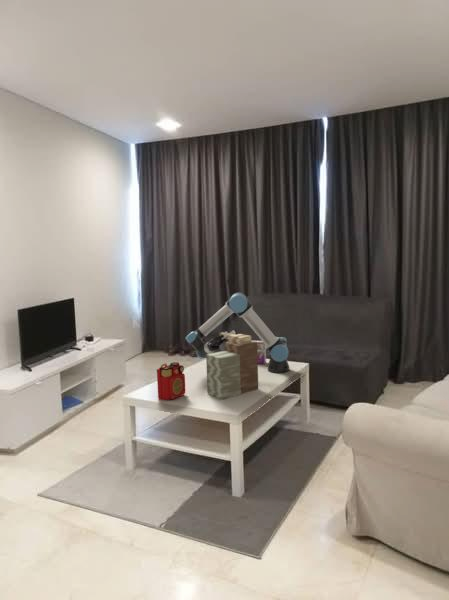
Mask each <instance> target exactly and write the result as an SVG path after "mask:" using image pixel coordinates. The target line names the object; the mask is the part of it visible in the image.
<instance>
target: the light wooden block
mask: <svg viewBox="0 0 449 600" xmlns="http://www.w3.org/2000/svg"><path fill="white" fill-rule="evenodd" d="M224 332H225V331H224ZM224 332H222V331H221V332H219V336H220V335H222V334H223V333H224ZM229 333H230V332H227V334H228V336H227V337H225V338H224V339H228V340H230V342H232V343H236V344H241V345H242V344H246V343H251V341H252V335H249V334H243V333H238V334H235V335H234V334H229Z"/></svg>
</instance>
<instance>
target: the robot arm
mask: <svg viewBox="0 0 449 600" xmlns="http://www.w3.org/2000/svg"><path fill="white" fill-rule="evenodd" d="M234 313H235V314H236V315H237V316H238V317H239V318H242V319H243V320H244V321H245V322H246V324H247V325H248V327H250V328H251V330H252V331H253V332H254V333H255V334H256V336H258V338H259V340H260V341H263V343H264V344H265V349H266V352H268V354H269V362H268V365H267V371H268V372H270V373H273V374H274V373H275V374H280V373H287V371H288V372H289V371H290V365H289V362H288V359H287V358H288V356H289V349H288V346H287V338H286V337H284V336H281V337H279V336H275V335H274V333H273V332H272V330H270V328H269V327H268V326H267V325H266V323H265V322H264V321H263V320H262V319H261V318H260V316H259V315H258V314H257V312H255V310H254V309H253V305H252V303H251V302H250V300H248V297H247V295H245V293H243V292H239V291H238V292H235V293H233V294H232V295H231V296H230V298H229V299H228V300H227V301H226V302H225V304H224V306H222V307H221V308H220V309H218V310H217V312H215V313H214V314H213V315H212V316H211V317H210V318H208V319H207V320H206V322H204V323H203V324H202V325H200V327H199V328H197V329H196V330H194V331H191V332H190V333H189V334H187V336H185V340H186V341H187V343H188V344H189V345H190V346H191V347H192V348H193V349H194V350H195V351H196V352H195V354H196V357H197V358H198V359H200V360H203V359H204V360H205V358H206V354H210V353H215V352H217V351H218V350H220V347H219V346H220V345H221V344H222V343H225V342H227V341H229V340H228V339H224V338H225V337H227V336H228V334H227V333H229V334H234V335H237V334H236V331H235V330H234V329H233V330H231V331H230V332H228V331H224V333H223V334H222V335H220V334H219V336H215V337H214V338H212V339H210V340H209V341H208V342H206V343H205V342H204V341H203V339H205V337H207V336H208V335H209V334H210V333H212V331H214V330H215V329H216V328H217V327H218V326H220V325H221V324H222V323H223V322H225V320H226V319H228V317H229V316H231V315H232V314H234Z"/></svg>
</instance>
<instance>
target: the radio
mask: <svg viewBox="0 0 449 600" xmlns="http://www.w3.org/2000/svg"><path fill="white" fill-rule="evenodd" d="M184 371H185V368H184V365H181V364H180V363H179V362H178V361H177V362H176V361H175V362H171V363H169V364H167V363H162V364H161V365H160V367H158V368H156V376H157V380H156V381H157V399H158V398H159V399H158V400H165V401H170V400H174V399H176V398H179V397H181V396H183V395H185V394H186V376H185V375H186V374H185V373H183V372H184Z"/></svg>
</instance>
